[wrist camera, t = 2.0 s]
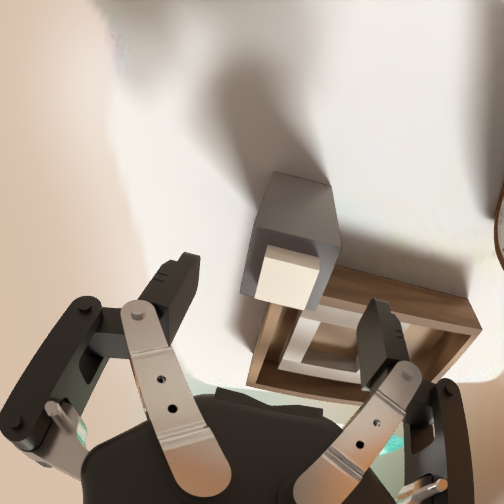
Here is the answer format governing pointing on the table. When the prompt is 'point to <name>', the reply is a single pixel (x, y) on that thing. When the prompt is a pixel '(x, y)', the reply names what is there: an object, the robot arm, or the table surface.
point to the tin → (499, 229)
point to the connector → (292, 243)
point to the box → (345, 340)
